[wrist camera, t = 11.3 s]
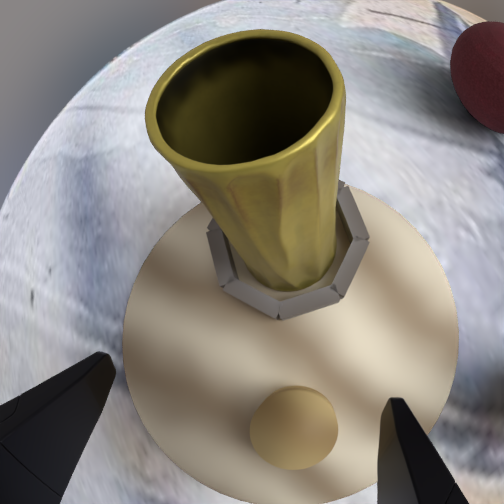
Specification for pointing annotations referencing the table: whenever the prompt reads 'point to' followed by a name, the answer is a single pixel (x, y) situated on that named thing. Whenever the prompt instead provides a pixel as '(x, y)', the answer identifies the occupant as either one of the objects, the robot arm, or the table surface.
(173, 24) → the table surface
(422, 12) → the table surface
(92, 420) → the robot arm
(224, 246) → the disc
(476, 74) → the decorative ball
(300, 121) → the vase
